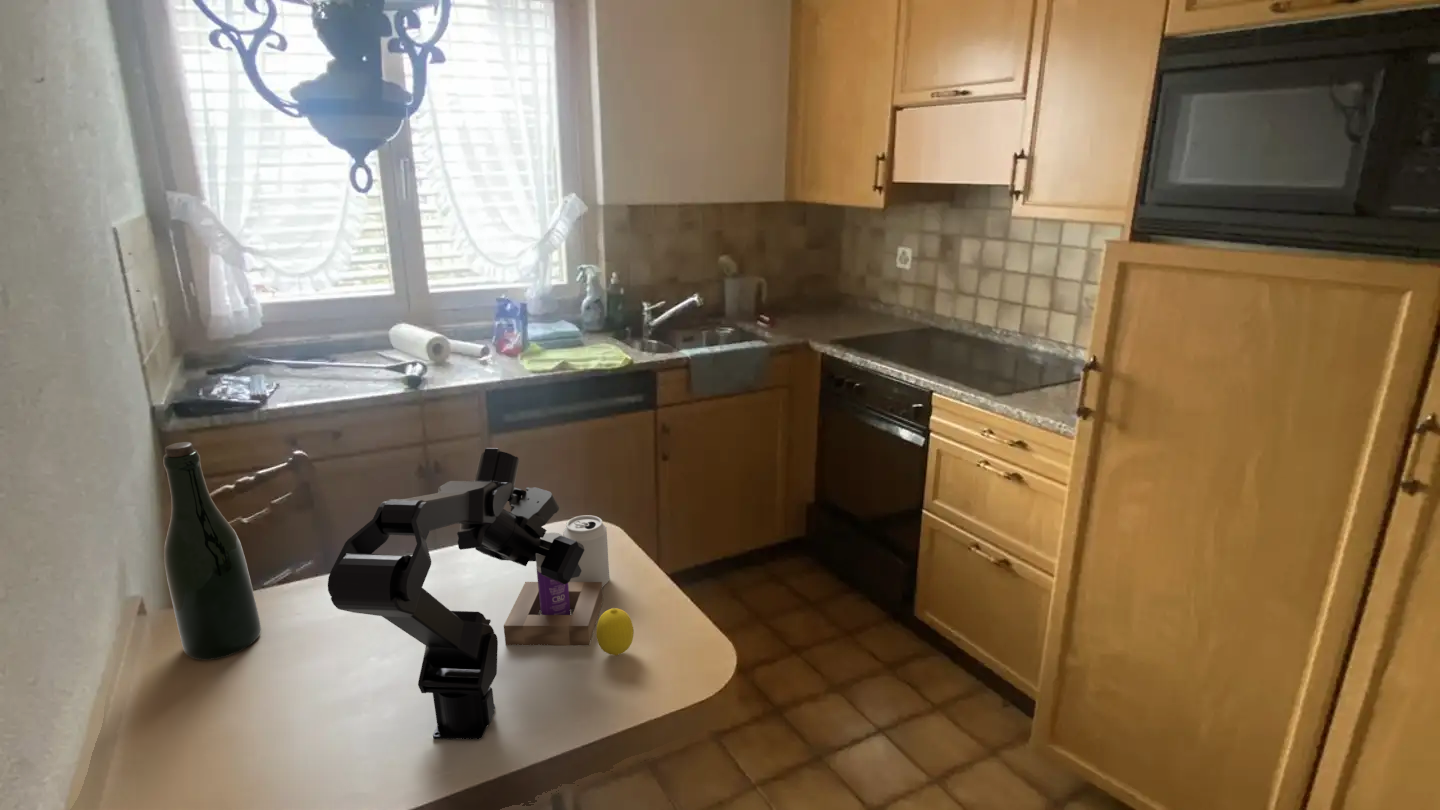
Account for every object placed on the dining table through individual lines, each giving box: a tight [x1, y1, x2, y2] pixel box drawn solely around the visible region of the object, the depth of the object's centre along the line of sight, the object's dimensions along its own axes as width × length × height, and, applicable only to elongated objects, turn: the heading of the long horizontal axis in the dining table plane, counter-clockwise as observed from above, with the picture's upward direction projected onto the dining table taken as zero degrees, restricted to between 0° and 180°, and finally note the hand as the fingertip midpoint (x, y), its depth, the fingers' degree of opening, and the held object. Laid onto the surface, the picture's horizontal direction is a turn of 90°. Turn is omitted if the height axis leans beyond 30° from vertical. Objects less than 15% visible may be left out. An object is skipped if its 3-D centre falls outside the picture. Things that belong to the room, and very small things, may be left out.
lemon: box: [595, 607, 634, 657], centre depth 118 cm, size 6×6×8 cm
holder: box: [503, 581, 604, 647], centre depth 127 cm, size 13×13×4 cm
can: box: [562, 514, 610, 588], centre depth 137 cm, size 8×8×12 cm
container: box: [535, 532, 572, 615], centre depth 125 cm, size 5×5×15 cm
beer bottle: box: [162, 441, 262, 661], centre depth 118 cm, size 10×10×33 cm
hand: (558, 565), depth 126 cm, fingers open, 9 cm apart
